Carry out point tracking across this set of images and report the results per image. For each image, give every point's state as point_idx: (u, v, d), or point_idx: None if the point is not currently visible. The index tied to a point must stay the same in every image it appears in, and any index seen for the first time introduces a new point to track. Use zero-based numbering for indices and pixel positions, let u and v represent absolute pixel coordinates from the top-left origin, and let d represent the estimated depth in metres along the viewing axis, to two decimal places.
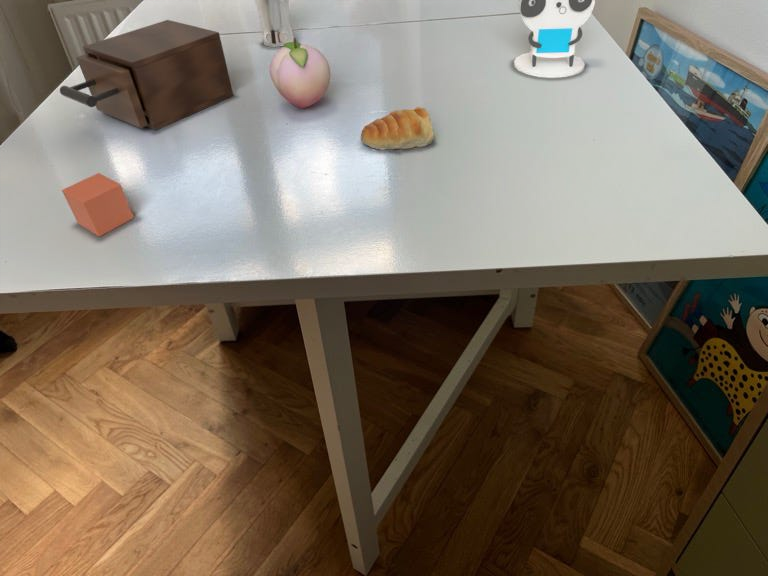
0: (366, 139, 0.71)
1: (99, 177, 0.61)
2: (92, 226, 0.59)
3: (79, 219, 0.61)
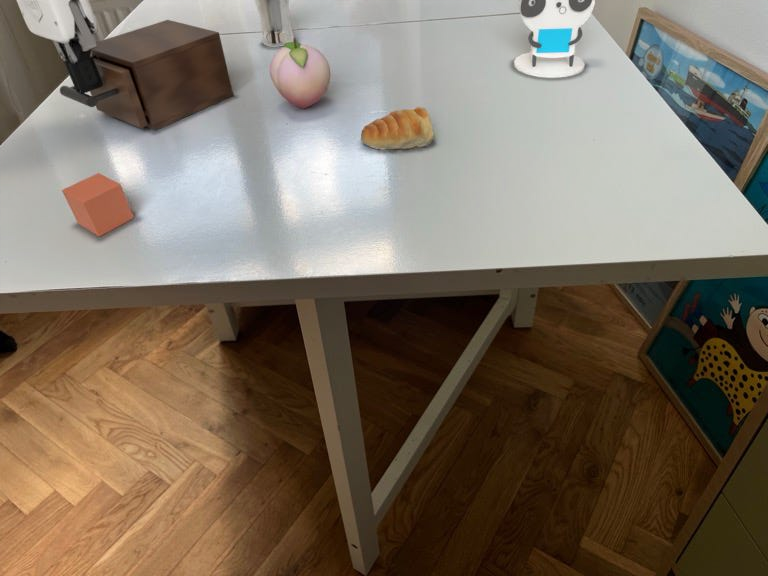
0: (366, 139, 0.71)
1: (99, 177, 0.61)
2: (92, 226, 0.59)
3: (79, 219, 0.61)
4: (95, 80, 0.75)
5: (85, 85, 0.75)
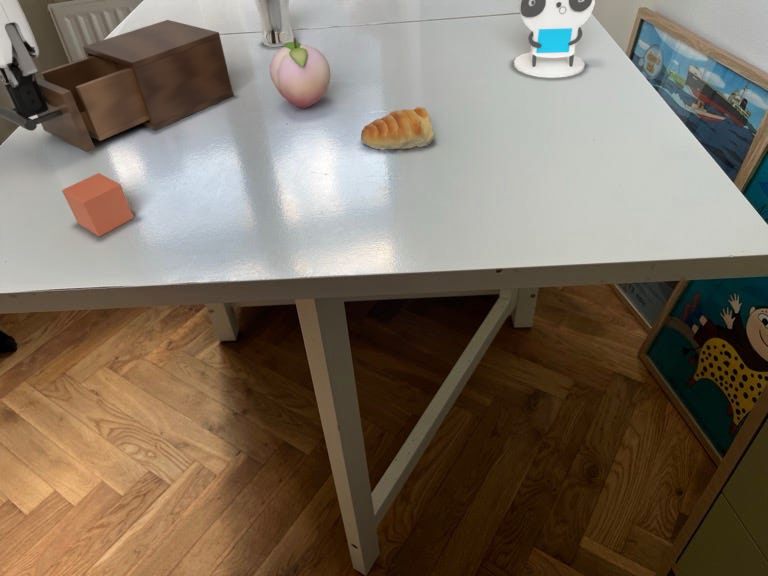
0: (366, 139, 0.71)
1: (99, 177, 0.61)
2: (92, 226, 0.59)
3: (79, 219, 0.61)
4: (39, 105, 0.71)
5: (28, 110, 0.71)
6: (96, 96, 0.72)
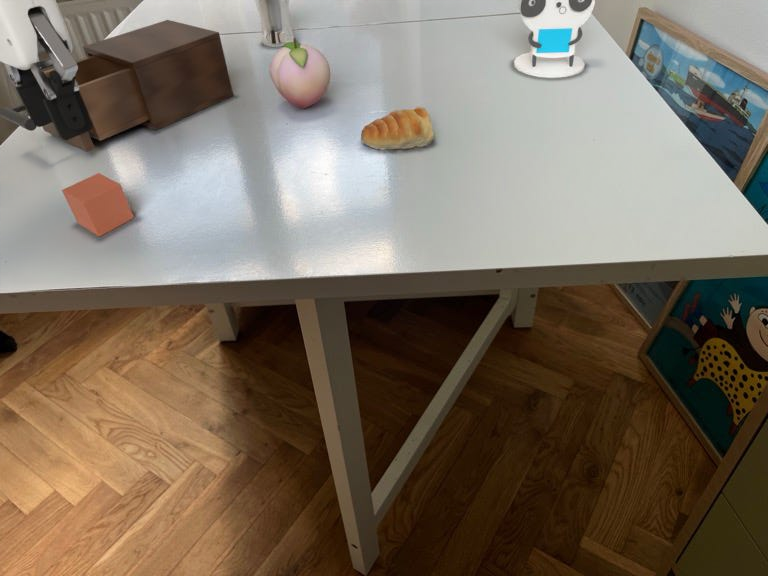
0: (366, 139, 0.71)
1: (99, 177, 0.61)
2: (92, 226, 0.59)
3: (79, 219, 0.61)
4: (82, 122, 0.53)
5: (68, 129, 0.53)
6: (96, 96, 0.72)
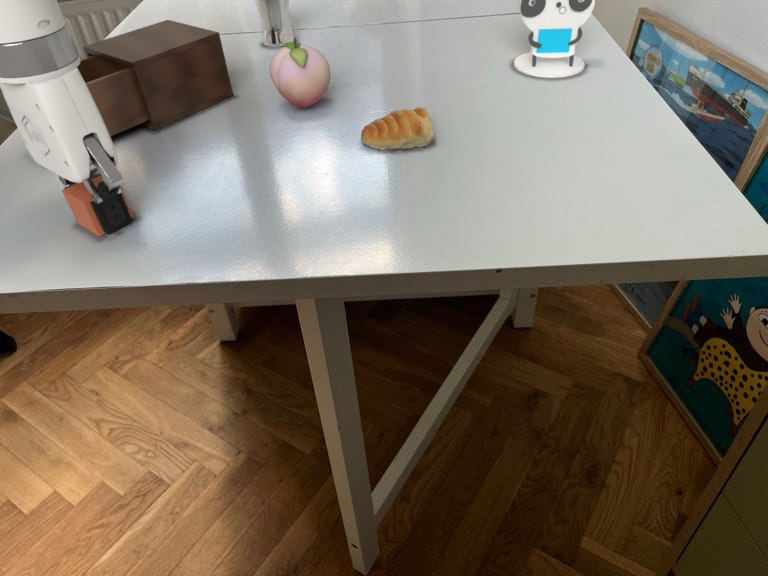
0: (366, 139, 0.71)
1: (99, 177, 0.61)
2: (92, 226, 0.59)
3: (79, 219, 0.61)
4: (123, 218, 0.60)
5: (110, 225, 0.60)
6: (96, 96, 0.72)
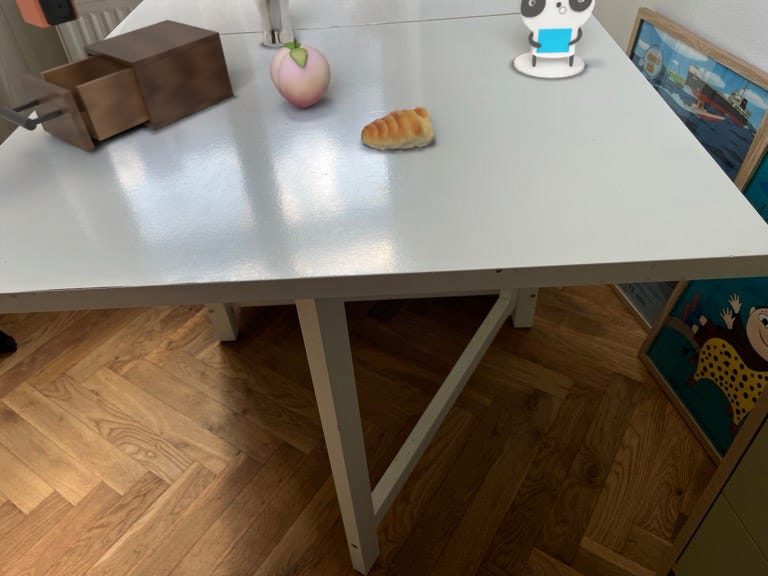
0: (366, 139, 0.71)
1: None
2: (36, 16, 0.61)
3: (25, 14, 0.63)
4: (66, 10, 0.61)
5: (54, 16, 0.61)
6: (96, 96, 0.72)
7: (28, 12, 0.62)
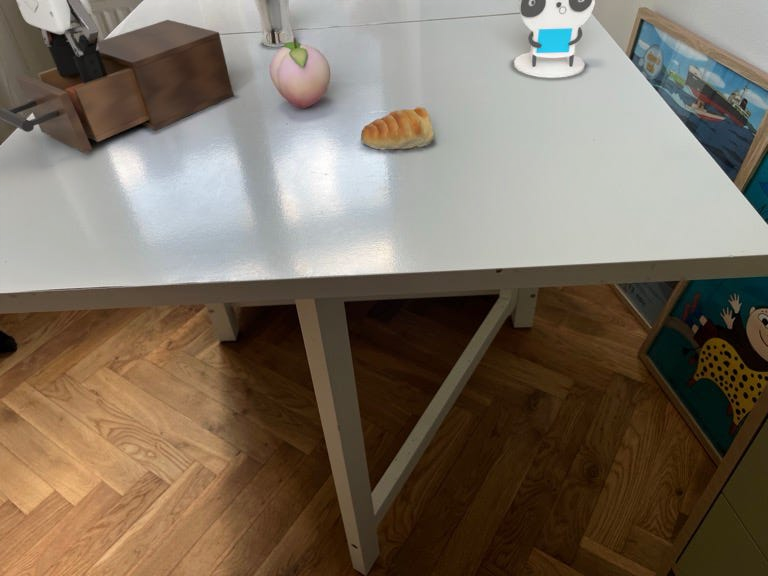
0: (366, 139, 0.71)
1: None
2: None
3: (78, 115, 0.77)
4: (100, 75, 0.73)
5: (90, 79, 0.72)
6: (93, 97, 0.72)
7: (82, 114, 0.77)
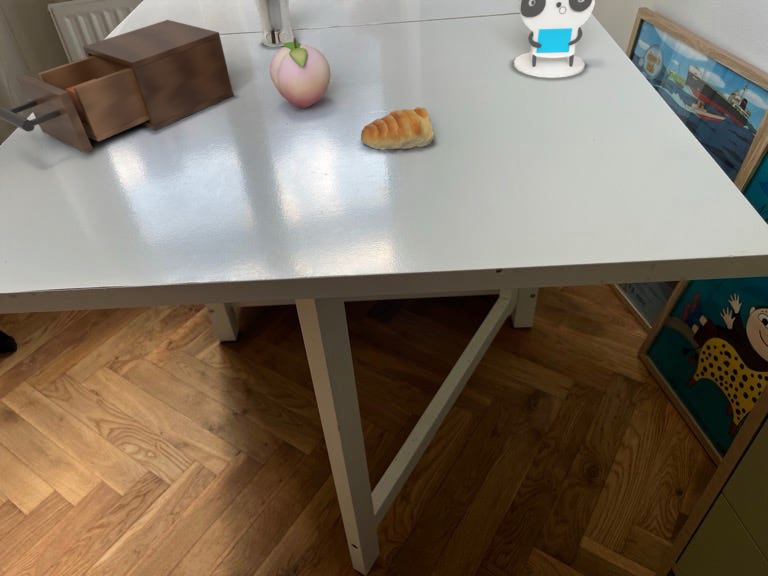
0: (366, 139, 0.71)
1: None
2: None
3: (79, 114, 0.78)
4: None
5: None
6: (93, 97, 0.72)
7: (82, 114, 0.77)
